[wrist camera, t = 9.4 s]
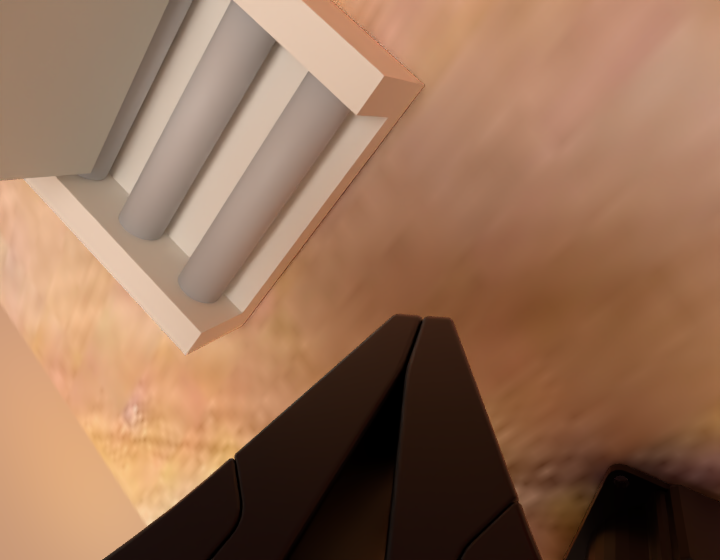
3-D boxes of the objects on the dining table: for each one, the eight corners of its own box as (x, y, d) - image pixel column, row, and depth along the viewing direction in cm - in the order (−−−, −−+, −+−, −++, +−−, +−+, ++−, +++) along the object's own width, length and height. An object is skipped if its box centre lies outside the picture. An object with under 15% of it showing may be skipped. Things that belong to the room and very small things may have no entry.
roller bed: (424, 85, 20) (384, 75, 17) (242, 325, 27) (185, 355, 23) (53, -250, 23) (-46, -316, 20) (-31, 38, 30) (-118, 25, 26)
